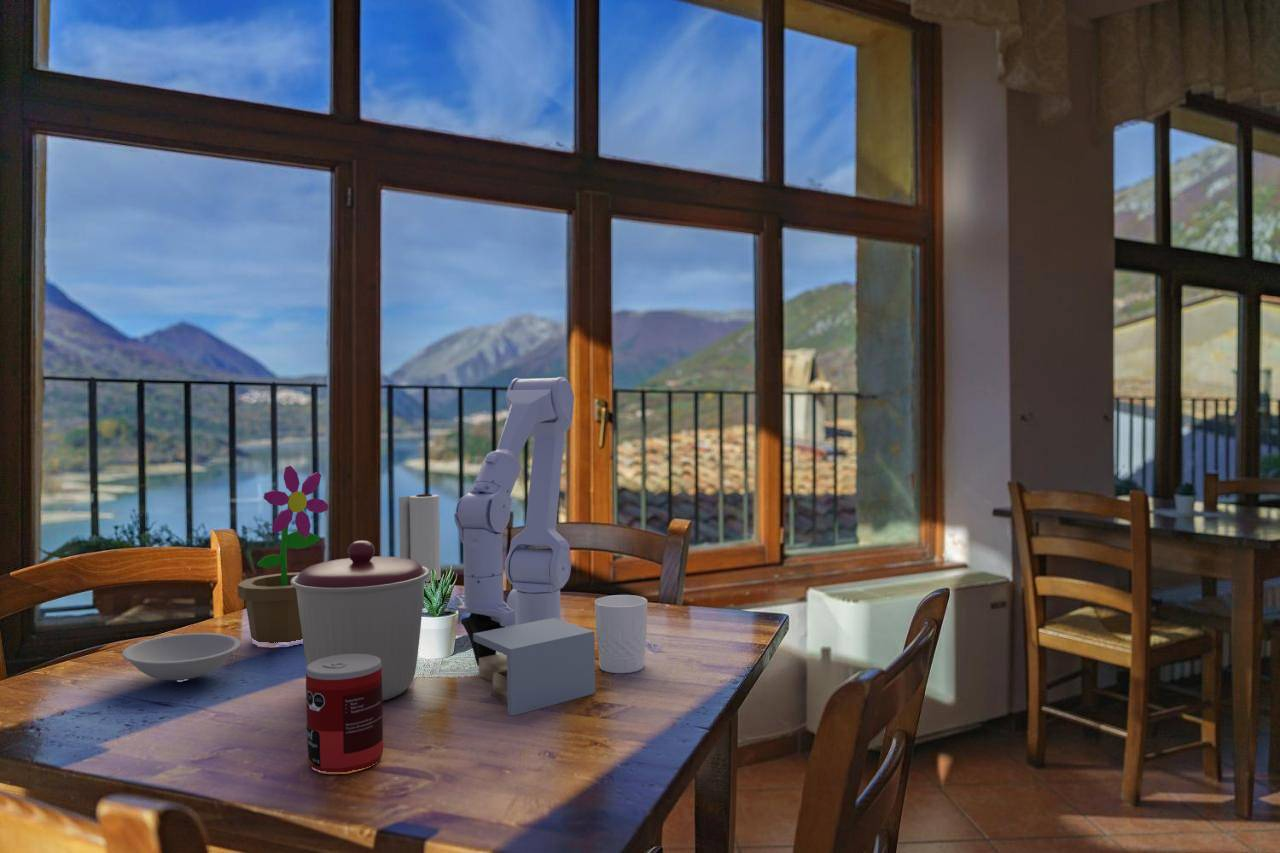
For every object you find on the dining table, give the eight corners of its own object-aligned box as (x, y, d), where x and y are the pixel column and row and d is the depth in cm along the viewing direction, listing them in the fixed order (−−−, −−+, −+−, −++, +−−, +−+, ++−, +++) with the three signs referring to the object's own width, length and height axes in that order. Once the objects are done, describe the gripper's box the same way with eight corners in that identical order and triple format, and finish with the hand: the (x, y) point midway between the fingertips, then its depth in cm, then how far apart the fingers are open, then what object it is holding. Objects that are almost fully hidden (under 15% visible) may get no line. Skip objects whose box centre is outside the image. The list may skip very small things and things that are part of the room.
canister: (456, 679, 122) (454, 533, 121) (378, 724, 104) (375, 554, 104) (352, 668, 127) (349, 529, 127) (262, 709, 110) (258, 548, 110)
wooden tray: (462, 679, 121) (461, 649, 121) (516, 666, 127) (516, 638, 127) (517, 708, 109) (517, 675, 109) (575, 693, 115) (574, 661, 115)
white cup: (642, 676, 122) (641, 607, 122) (589, 673, 123) (588, 605, 123) (652, 660, 129) (651, 595, 129) (602, 658, 131) (601, 594, 131)
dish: (101, 683, 122) (100, 649, 122) (201, 658, 133) (201, 627, 133) (160, 707, 112) (159, 669, 111) (263, 678, 123) (262, 644, 123)
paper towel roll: (446, 594, 178) (444, 493, 177) (432, 601, 172) (430, 496, 172) (414, 593, 179) (413, 493, 179) (400, 599, 174) (398, 496, 173)
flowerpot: (274, 656, 134) (270, 468, 133) (220, 644, 142) (217, 466, 141) (347, 635, 146) (344, 463, 146) (295, 625, 154) (292, 461, 153)
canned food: (319, 749, 97) (317, 654, 97) (390, 746, 97) (388, 651, 97) (297, 778, 89) (295, 675, 89) (375, 774, 90) (373, 672, 90)
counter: (474, 695, 114) (473, 633, 114) (554, 675, 122) (553, 617, 122) (511, 716, 106) (510, 649, 106) (595, 693, 115) (594, 631, 114)
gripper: (436, 570, 128) (438, 659, 128) (483, 585, 117) (485, 682, 117) (478, 564, 133) (479, 650, 133) (527, 578, 121) (528, 671, 122)
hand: (485, 664), depth 125 cm, fingers closed
